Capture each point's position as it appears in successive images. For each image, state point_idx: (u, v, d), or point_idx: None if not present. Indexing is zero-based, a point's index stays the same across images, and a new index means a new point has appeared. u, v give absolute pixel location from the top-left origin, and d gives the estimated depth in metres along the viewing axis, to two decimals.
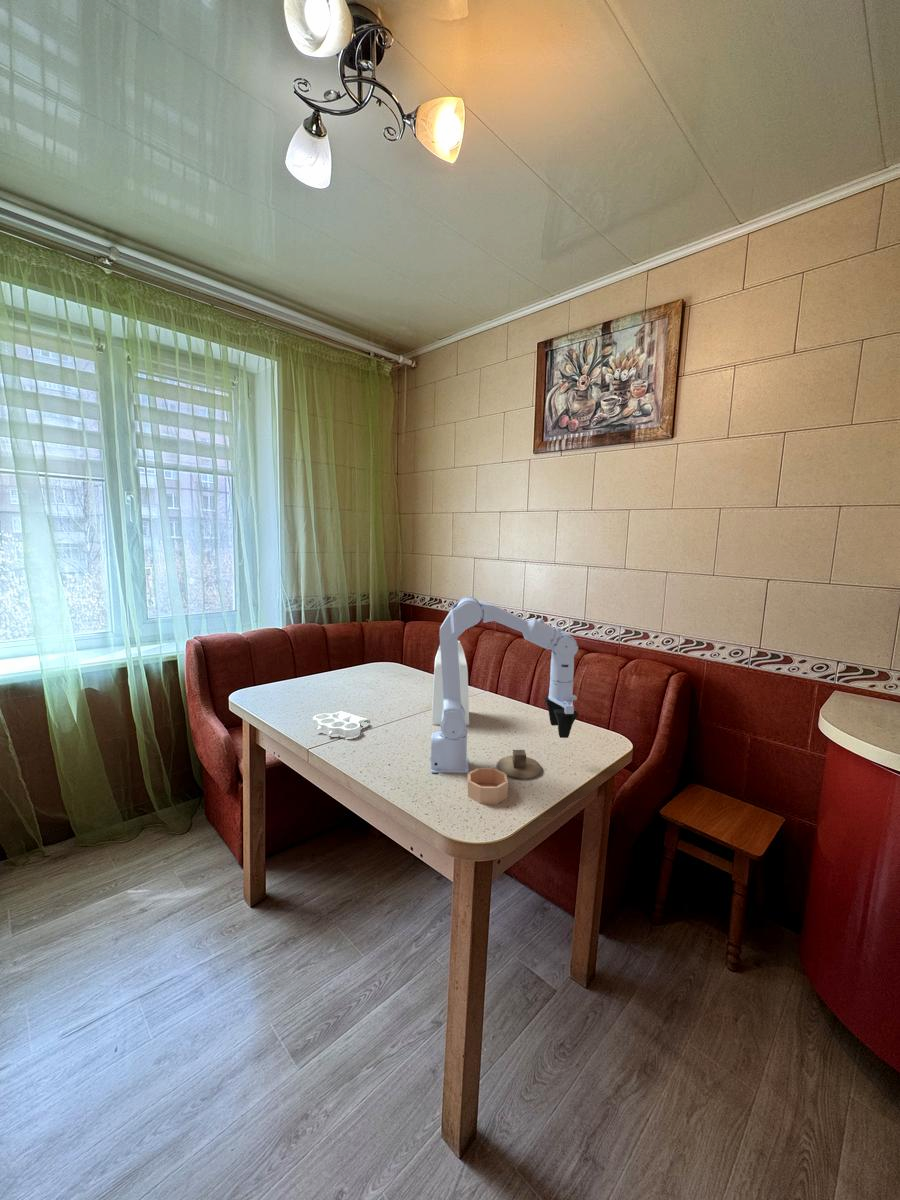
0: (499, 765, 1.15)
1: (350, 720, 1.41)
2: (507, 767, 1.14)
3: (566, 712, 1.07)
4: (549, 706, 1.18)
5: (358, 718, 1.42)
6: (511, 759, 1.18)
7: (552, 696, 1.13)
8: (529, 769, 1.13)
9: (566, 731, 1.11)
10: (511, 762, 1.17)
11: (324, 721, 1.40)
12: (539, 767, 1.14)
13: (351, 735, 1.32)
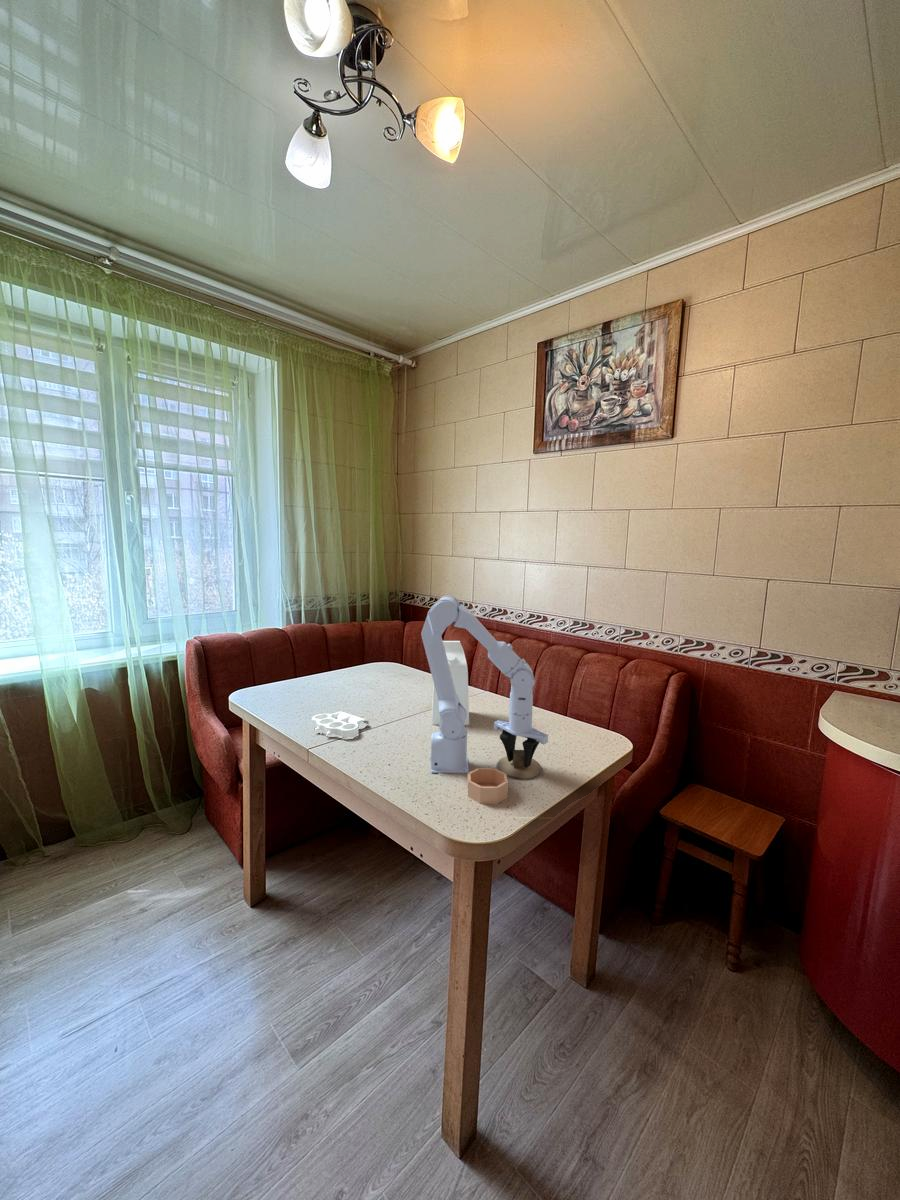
0: (499, 765, 1.15)
1: (349, 720, 1.41)
2: (507, 767, 1.14)
3: (544, 742, 1.09)
4: (508, 743, 1.14)
5: (357, 718, 1.41)
6: None
7: (519, 731, 1.11)
8: (529, 769, 1.13)
9: (530, 759, 1.13)
10: (511, 762, 1.17)
11: (323, 721, 1.40)
12: (539, 767, 1.14)
13: (348, 736, 1.32)
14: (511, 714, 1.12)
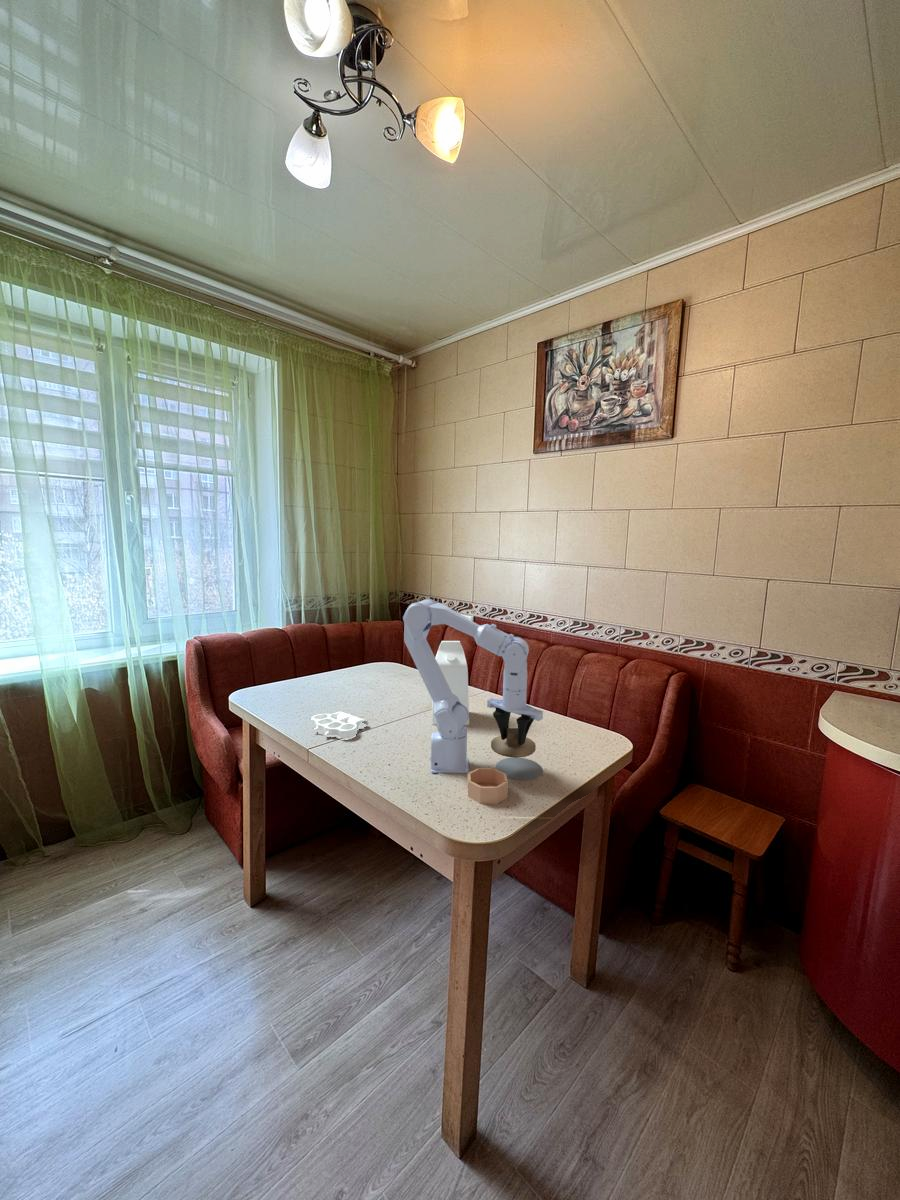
0: (493, 744, 1.12)
1: (348, 721, 1.41)
2: (501, 746, 1.11)
3: (539, 719, 1.06)
4: (502, 720, 1.11)
5: (356, 719, 1.41)
6: None
7: (513, 707, 1.08)
8: (523, 747, 1.10)
9: (524, 737, 1.10)
10: (505, 741, 1.13)
11: (322, 721, 1.39)
12: (534, 745, 1.11)
13: (347, 736, 1.32)
14: (505, 690, 1.09)
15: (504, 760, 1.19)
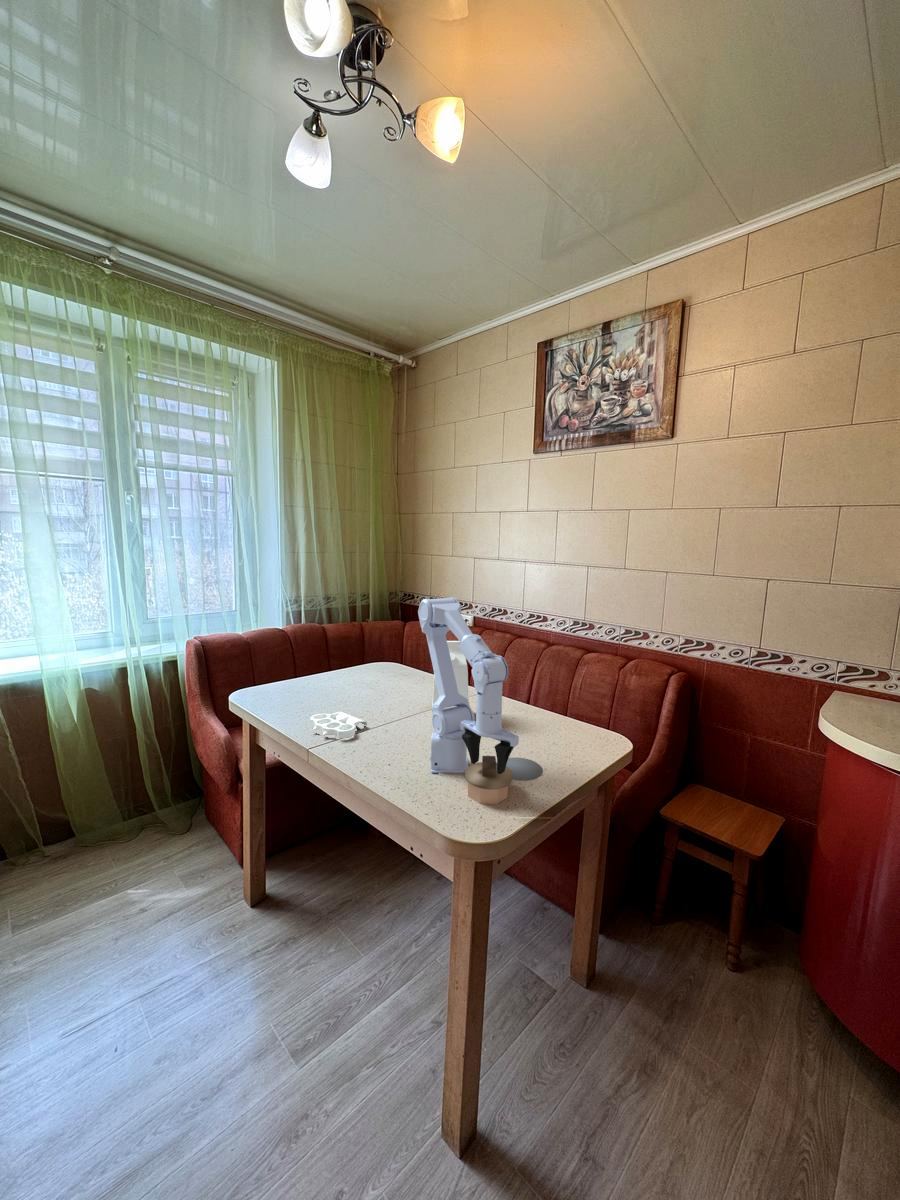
0: (466, 773, 1.04)
1: (347, 721, 1.41)
2: (475, 775, 1.03)
3: (514, 745, 0.97)
4: (471, 743, 1.03)
5: (355, 719, 1.40)
6: (481, 766, 1.07)
7: (487, 732, 0.99)
8: (499, 778, 1.01)
9: (504, 764, 1.01)
10: (481, 769, 1.05)
11: (321, 721, 1.39)
12: (511, 776, 1.03)
13: (344, 737, 1.31)
14: (478, 713, 1.00)
15: None
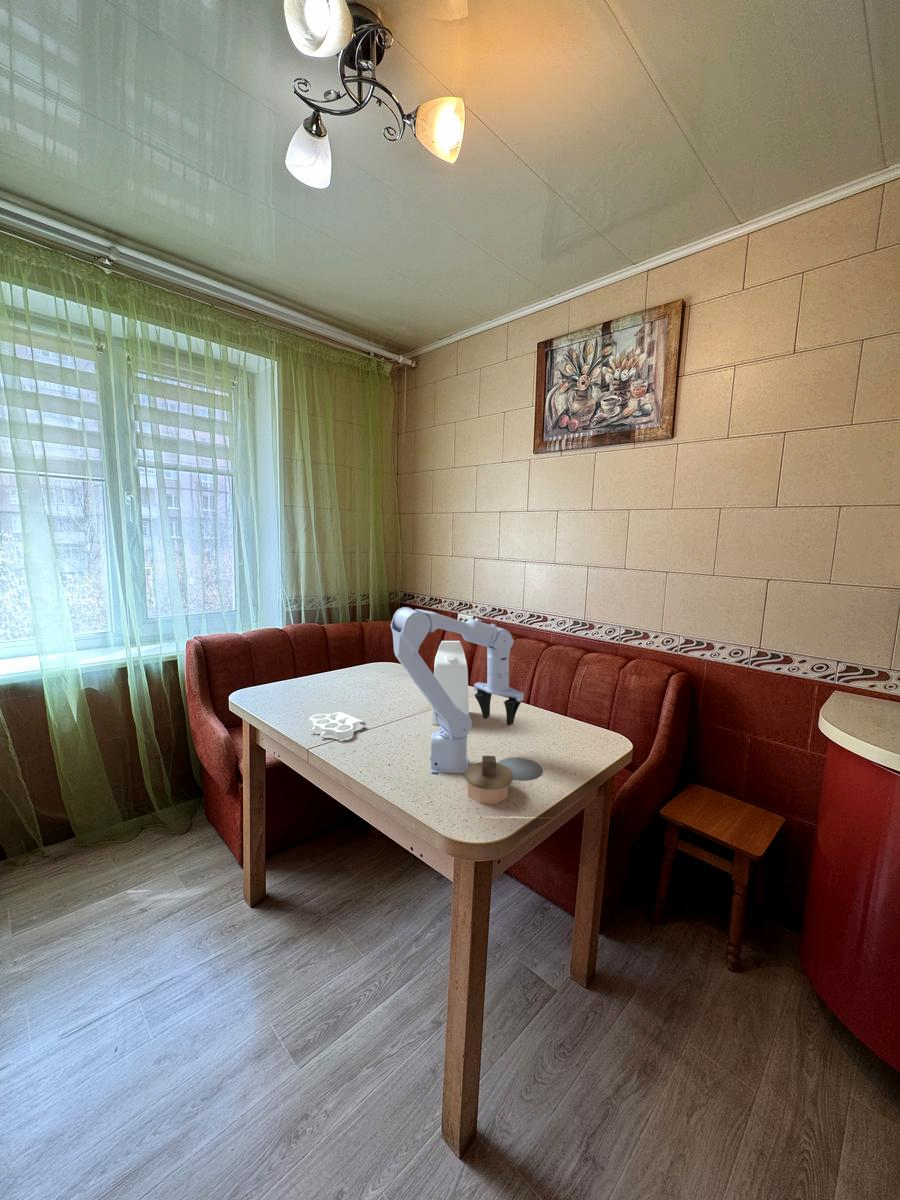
0: (466, 773, 1.04)
1: (346, 721, 1.40)
2: (475, 775, 1.03)
3: (520, 700, 1.15)
4: (483, 701, 1.22)
5: (354, 720, 1.40)
6: (481, 766, 1.07)
7: (496, 690, 1.17)
8: (499, 778, 1.01)
9: (512, 718, 1.19)
10: (481, 769, 1.05)
11: (320, 721, 1.39)
12: (511, 776, 1.03)
13: (342, 737, 1.31)
14: (488, 674, 1.18)
15: (504, 760, 1.19)
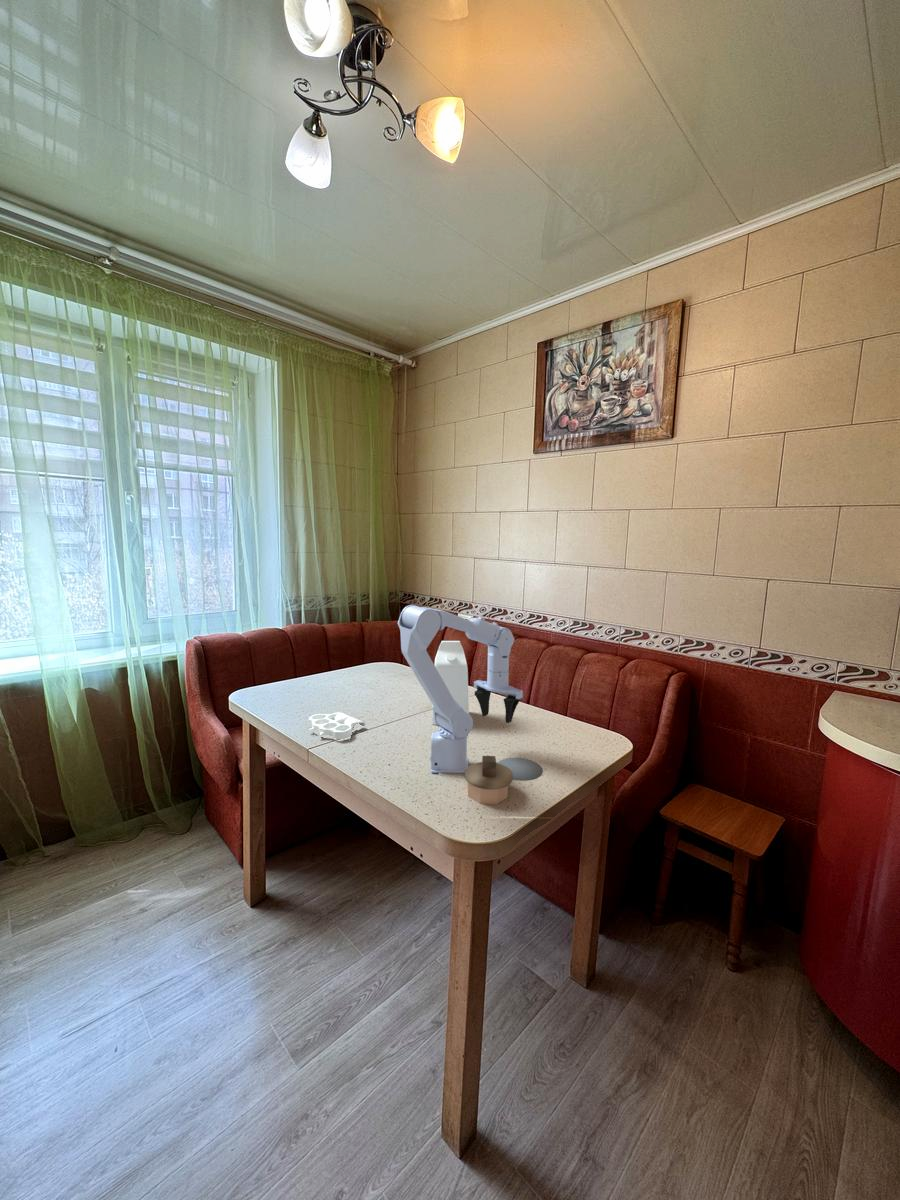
0: (466, 773, 1.04)
1: (345, 722, 1.40)
2: (475, 775, 1.03)
3: (519, 697, 1.17)
4: (482, 698, 1.24)
5: (353, 720, 1.40)
6: (481, 766, 1.07)
7: (496, 687, 1.20)
8: (499, 778, 1.01)
9: (511, 715, 1.21)
10: (481, 769, 1.05)
11: (319, 722, 1.39)
12: (511, 776, 1.03)
13: (340, 737, 1.31)
14: (489, 672, 1.21)
15: (504, 760, 1.19)
